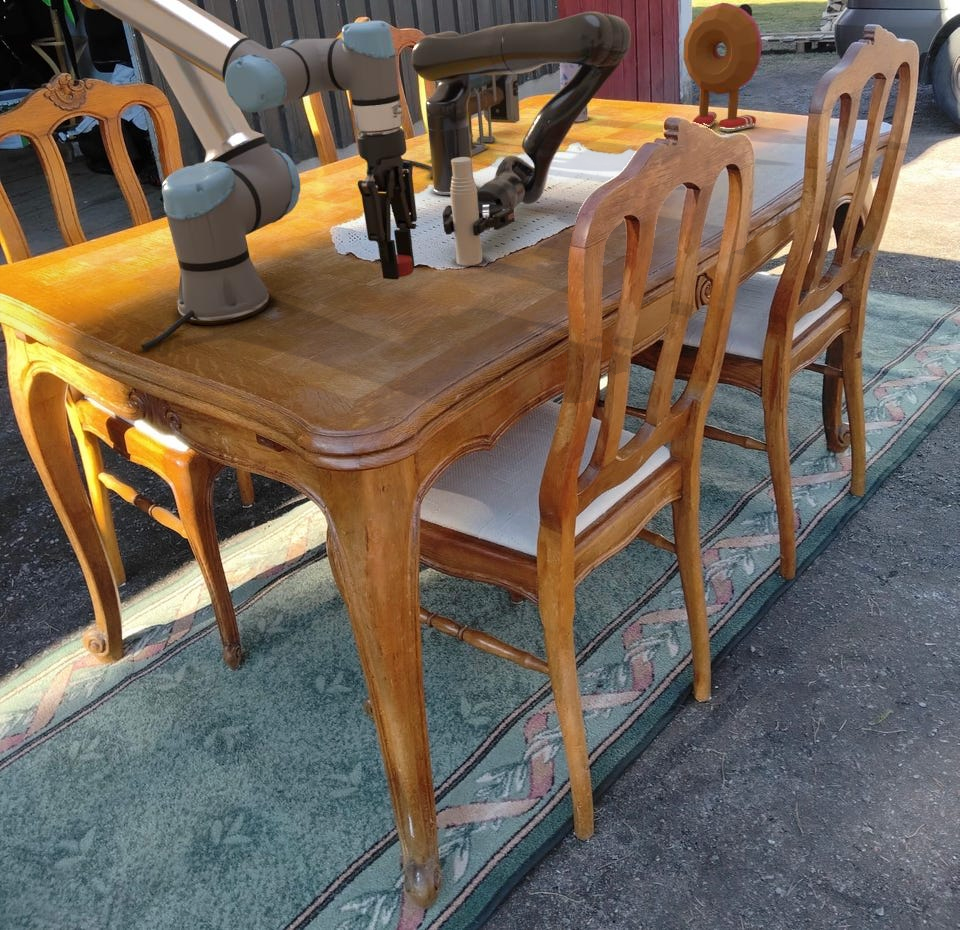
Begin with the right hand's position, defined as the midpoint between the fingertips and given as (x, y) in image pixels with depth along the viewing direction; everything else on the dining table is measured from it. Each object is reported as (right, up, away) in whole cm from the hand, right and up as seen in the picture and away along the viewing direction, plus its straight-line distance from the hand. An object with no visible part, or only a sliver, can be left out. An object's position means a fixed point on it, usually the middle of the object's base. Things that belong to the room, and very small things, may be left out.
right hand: (461, 229), depth 173 cm
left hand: (-10, -10, -10) cm, 17 cm away
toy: (+67, +47, +83) cm, 117 cm away
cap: (-10, -8, -11) cm, 17 cm away
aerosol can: (+31, +57, +105) cm, 124 cm away
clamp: (+2, +43, +85) cm, 95 cm away
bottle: (+1, -4, +6) cm, 7 cm away
